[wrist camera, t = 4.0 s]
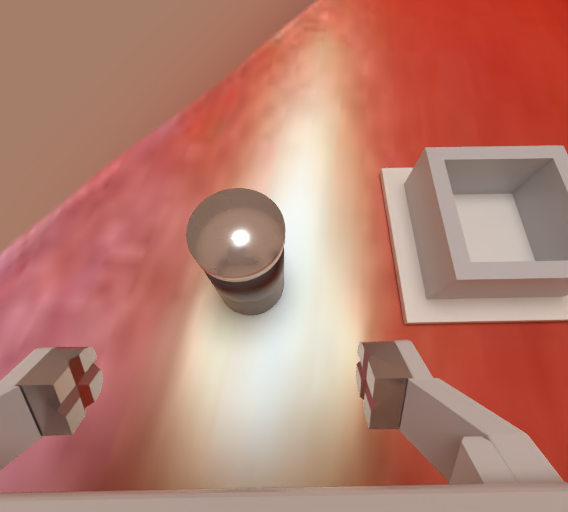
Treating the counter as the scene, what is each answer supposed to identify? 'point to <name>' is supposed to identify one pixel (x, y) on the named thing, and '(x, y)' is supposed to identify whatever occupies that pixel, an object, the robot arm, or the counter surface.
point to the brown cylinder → (240, 248)
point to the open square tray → (480, 234)
